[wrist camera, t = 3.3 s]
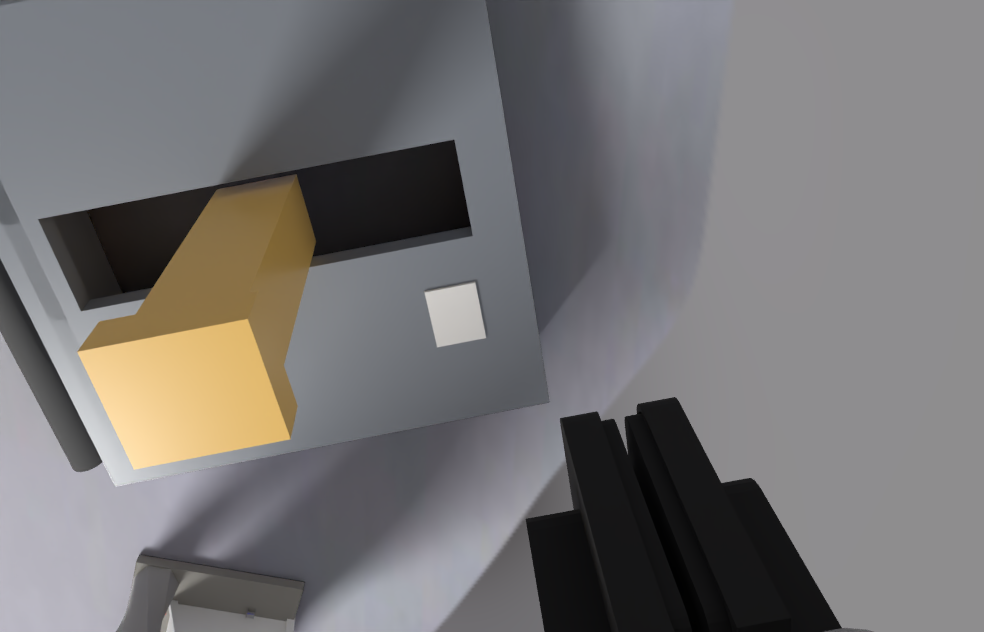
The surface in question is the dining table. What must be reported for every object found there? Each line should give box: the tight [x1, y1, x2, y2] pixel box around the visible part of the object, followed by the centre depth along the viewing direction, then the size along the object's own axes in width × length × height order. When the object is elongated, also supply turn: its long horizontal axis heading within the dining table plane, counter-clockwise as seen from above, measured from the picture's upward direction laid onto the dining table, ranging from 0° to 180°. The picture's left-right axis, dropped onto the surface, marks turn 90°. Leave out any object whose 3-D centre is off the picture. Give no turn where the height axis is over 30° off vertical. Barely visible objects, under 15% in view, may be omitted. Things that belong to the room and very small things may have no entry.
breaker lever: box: [77, 174, 316, 470], centre depth 20 cm, size 3×3×10 cm
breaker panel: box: [0, 0, 550, 487], centre depth 25 cm, size 16×15×4 cm
